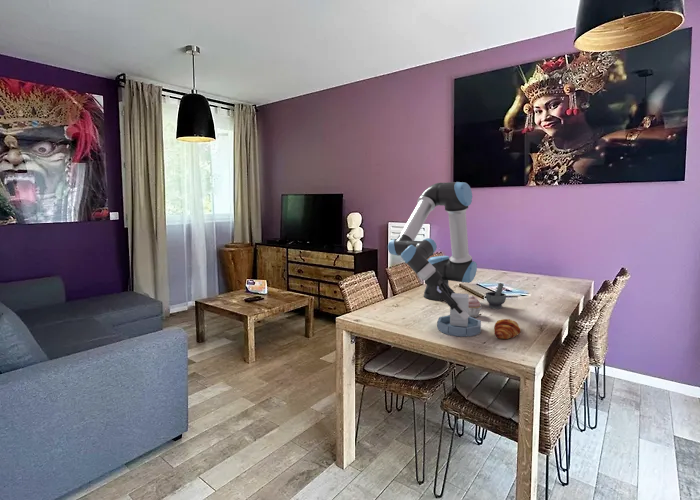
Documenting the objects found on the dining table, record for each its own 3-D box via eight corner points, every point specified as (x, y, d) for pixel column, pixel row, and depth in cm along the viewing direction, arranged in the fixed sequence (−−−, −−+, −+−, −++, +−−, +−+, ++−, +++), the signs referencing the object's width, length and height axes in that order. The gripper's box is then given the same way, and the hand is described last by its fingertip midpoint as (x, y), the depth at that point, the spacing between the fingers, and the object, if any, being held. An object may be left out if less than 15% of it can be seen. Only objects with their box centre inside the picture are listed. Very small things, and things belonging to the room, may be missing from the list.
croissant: (508, 333, 175) (500, 316, 176) (530, 327, 169) (521, 309, 170) (490, 347, 158) (482, 328, 160) (514, 340, 152) (505, 321, 154)
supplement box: (468, 322, 173) (469, 293, 171) (467, 327, 166) (468, 297, 164) (450, 320, 175) (451, 292, 173) (449, 325, 168) (450, 296, 166)
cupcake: (472, 319, 183) (473, 298, 182) (457, 314, 191) (457, 294, 190) (486, 316, 188) (486, 295, 187) (470, 311, 196) (471, 291, 195)
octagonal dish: (440, 320, 182) (440, 313, 182) (481, 324, 176) (481, 317, 175) (434, 333, 165) (434, 325, 165) (480, 338, 159) (480, 330, 159)
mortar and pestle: (499, 311, 197) (500, 287, 195) (481, 307, 203) (482, 284, 202) (509, 306, 204) (511, 283, 202) (492, 303, 211) (493, 281, 209)
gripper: (427, 276, 183) (462, 314, 179) (419, 286, 164) (459, 328, 160) (439, 265, 180) (475, 303, 177) (432, 274, 161) (473, 316, 158)
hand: (467, 315), depth 169 cm, fingers closed on supplement box, 7 cm apart
